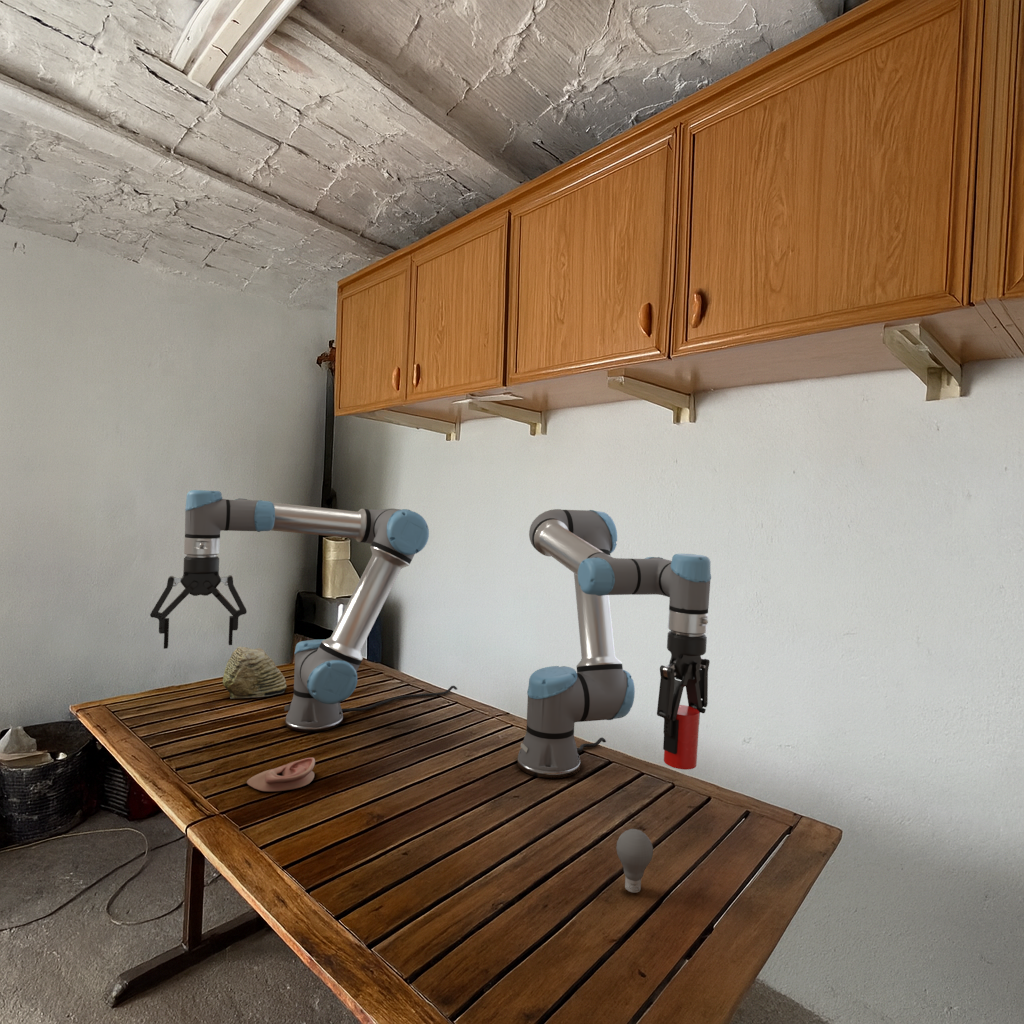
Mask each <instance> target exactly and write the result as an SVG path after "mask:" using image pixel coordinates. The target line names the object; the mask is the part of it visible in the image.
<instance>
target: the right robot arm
mask: <svg viewBox="0 0 1024 1024" xmlns="http://www.w3.org/2000/svg"><path fill="white" fill-rule="evenodd" d="M528 537H529V541H530V544H531V546H532V547H533V548H534V549H535V550H536V551H537V552H538V553H539V554H540V555H543V556H545V557H551V558H553V559H554V560H556V561H557V562H559V564H561V565H562V566H564V567H565V568H566V569H568V570H570V572H572V573H573V577H574V578H573V579H574V590H575V601H576V611H577V612H576V613H577V621H578V622H577V623H578V631H579V632H578V633H579V645H580V653H581V659H580V661H579V662H578V663H577V665H576V669H575V668H573V667H570V666H565V665H562V666H559V665H553V666H552V665H551V666H545V667H541V668H539V669H536V670H534V672H533V673H531V674H530V676H529V678H528V687H527V690H526V691H527V693H526V694H527V705H526V706H527V708H526V730H525V735H524V737H523V740H522V742H521V743H520V749H519V751H518V753H517V766H518V768H519V769H520V770H521V771H523V772H524V773H526V774H527V775H530V776H533V777H536V778H543V779H565V778H569V777H572V776H574V775H576V774H578V773H579V771H580V769H581V758H580V754H579V753H580V752H582V751H583V750H584V748H596V747H597V746H599V745H600V744H601V743H607V740H606V739H605V738H604V737H599V738H598V739H597V740H596V741H595V742H592V743H581V744H580V745H579V747H578V746H577V743H576V739H575V724H576V723H581V722H595V721H596V722H597V721H612V720H616V719H623V718H625V717H627V715H628V714H630V712H631V709H632V707H633V705H634V702H635V692H636V691H635V690H636V689H635V683H634V679H633V678H632V674H631V673H630V672H628V671H627V670H625V669H624V667H623V661H621V660H620V659H619V658H618V657H617V656H616V649H615V639H614V630H613V622H612V621H613V620H612V612H611V611H612V610H611V603H610V602H611V601H610V596H626V595H627V596H628V595H630V596H631V595H633V596H634V595H637V596H639V595H640V596H641V595H642V596H643V595H645V596H646V595H657V596H658V595H660V596H663V597H667V598H669V604H668V616H667V617H668V619H667V629H669V631H668V632H667V638H666V649H667V651H669V652H670V654H671V655H670V660H669V664H667V665H660V667H659V674H660V680H659V690H658V698H657V707H656V715H657V716H658V717H659V718H663V744H662V750H666V751H668V752H671V753H673V754H676V753H677V744H678V727H679V720H677V719H676V717H677V713H678V709H679V705H681V701H682V696H683V692H684V688H685V691H686V699H687V704H688V705H687V706H690V707H693V708H695V709H697V710H698V711H699V712H700V714H699V721H700V719H701V716H700V715H701V713H702V714H705V713H706V710H707V709H706V708H708V703H709V702H708V698H709V697H708V693H709V691H708V690H709V688H708V687H709V668H710V661H711V660H709V659H707V658H704V657H702V656H704V655H706V653H707V641H708V637H707V635H706V633H708V623H709V620H708V619H709V618H708V616H709V609H710V607H709V606H710V591H711V579H712V574H711V559H710V558H709V557H708V556H707V555H704V554H695V553H675V554H673V555H672V557H671V558H672V559H666V558H664V557H660V556H657V557H656V556H649V557H648V556H647V557H645V558H621V557H619V558H618V557H612V556H611V554H612V553H614V552H615V550H616V548H617V542H618V530H617V527H616V523H615V521H614V520H613V518H612V517H611V516H610V515H609V514H608V513H607V512H605V511H599V510H593V509H589V510H588V509H587V510H586V509H585V510H584V509H561V508H554V509H549V510H546V511H544V512H542V513H540V514H539V515H537V516H536V517H535V518H534V519H533V521H532V522H531V524H530V526H529V531H528ZM671 712H672V713H671ZM699 732H700V731H698V734H699Z"/></svg>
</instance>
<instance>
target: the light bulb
mask: <svg viewBox="0 0 1024 1024" xmlns="http://www.w3.org/2000/svg"><path fill="white" fill-rule="evenodd" d="M615 849H616V854H617V857H618V859H619V861H620V863H621V865H622V867H623V873H624V874H623V875H624V876H625V878H624V888H625V890H627V891H628V892H630V893H634V894H635V893H639V892H640V891H641V889H642V887H641V886H642V879H643V877H644V875H645V871H646V868H647V867H648V866H649V864H650V863H651V861H652V859H653V855H654V847H653V843H652V841H651V838H649V836H648V835H647V834H646V833H645V832H643V831H642V830H641V829H636V828H629V829H627V830H625V831H623V832H622V833H621V834H620V835H619V837H618V839H617V841H616V847H615Z"/></svg>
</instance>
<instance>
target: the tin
mask: <svg viewBox="0 0 1024 1024" xmlns="http://www.w3.org/2000/svg"><path fill="white" fill-rule="evenodd" d="M671 713H672V712H671ZM699 714H700V715H701V712H699V711H698V710H697V709H695V708H693V707H690V706H689V705H684V704H680V705H679V709H678V713H677V717H676V719H677V720H679V727H678V744H677V753H676V754H673V753H671V752H668V751H666V750H664V751H663V762H664V764H665V765H667V766H669V767H671V768H674V769H677V770H685V771H686V770H687V771H688V770H693V769H695V768H697V764H698V748H699V747H698V746H699V733H698V731H699V730H700V720H699ZM699 732H700V731H699Z"/></svg>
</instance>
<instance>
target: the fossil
mask: <svg viewBox="0 0 1024 1024" xmlns="http://www.w3.org/2000/svg"><path fill="white" fill-rule="evenodd" d="M222 676H223V677H222V685H223V687H224V688H225V690H226V691H228V693H229V698H230V699H250V698H264V697H271V696H275V695H281V694H284V693H285V691H286V689H287V687H288V686H287V680H286V678H285V676H284V674H283V673H282V672H281V669H279V668H278V667H277V665H276V663H275V662H274V660H273V659H272V658H271V657H270V656H269V655H268V654H267V653H266V652H265V650H264V649H263V648H260V647H258V648H251V647H247V646H246V647H245V646H238V647H237V648H236V649H235V650H233V651H232V653H231V656H230V657H229V659H228V660H227V663H226V666H225V668H224V671H223V675H222Z"/></svg>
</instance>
